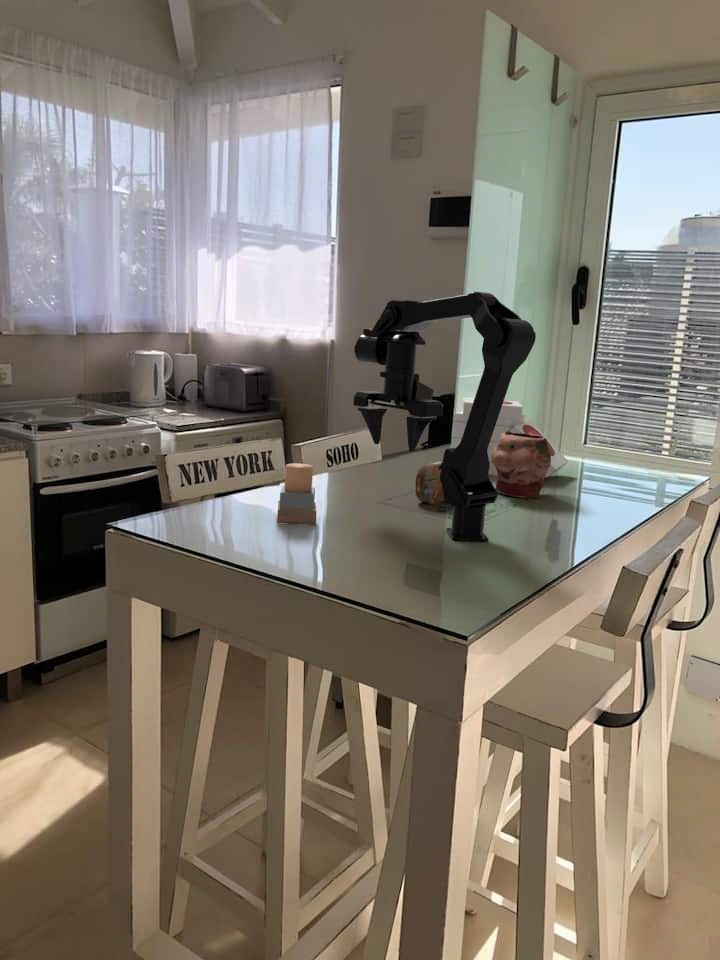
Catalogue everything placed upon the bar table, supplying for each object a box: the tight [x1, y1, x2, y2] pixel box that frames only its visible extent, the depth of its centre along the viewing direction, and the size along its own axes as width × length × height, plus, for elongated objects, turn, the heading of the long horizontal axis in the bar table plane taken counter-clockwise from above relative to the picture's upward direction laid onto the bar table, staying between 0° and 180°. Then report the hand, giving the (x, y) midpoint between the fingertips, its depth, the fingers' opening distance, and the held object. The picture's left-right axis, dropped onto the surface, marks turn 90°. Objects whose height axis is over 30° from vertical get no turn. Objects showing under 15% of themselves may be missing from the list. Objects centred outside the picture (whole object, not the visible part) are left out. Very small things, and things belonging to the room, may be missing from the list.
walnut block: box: [276, 500, 318, 526], centre depth 147 cm, size 7×7×3 cm
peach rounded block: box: [284, 463, 314, 493], centre depth 145 cm, size 5×5×4 cm
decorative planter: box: [491, 431, 551, 499], centre depth 183 cm, size 20×12×14 cm, turn 142°
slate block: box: [279, 485, 316, 511], centre depth 146 cm, size 6×6×3 cm
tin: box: [415, 460, 445, 505], centre depth 170 cm, size 15×3×8 cm, turn 143°
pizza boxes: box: [450, 397, 569, 478], centre depth 209 cm, size 19×30×18 cm, turn 63°
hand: (393, 447), depth 155 cm, fingers open, 9 cm apart
